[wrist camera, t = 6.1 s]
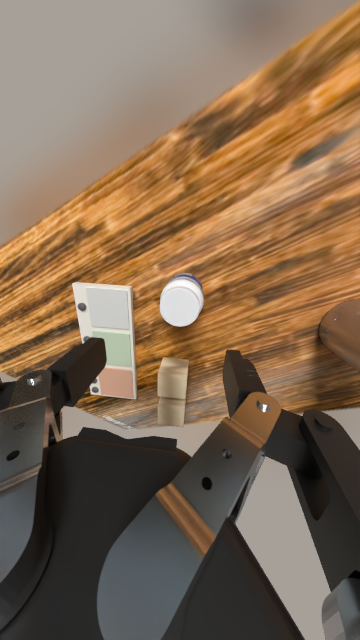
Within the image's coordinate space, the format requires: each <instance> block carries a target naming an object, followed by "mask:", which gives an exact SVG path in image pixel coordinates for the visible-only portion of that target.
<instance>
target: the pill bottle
mask: <svg viewBox="0 0 360 640" xmlns="http://www.w3.org/2000/svg"><path fill="white" fill-rule="evenodd" d="M203 303H204V298H203V289H202V285H201V283H200V281H199V279H198V278H197V277H195V276H194V275H192V274H189V273H181V274H178V275H176V276H174V277H173V278H172V279H171V280H170V282H169V283H168V284H167V285H166V286H165V288H164V289H163V291H162V293H161V298H160V312H161V315H162V317H163V318H164V320H165V321H166V322H168V323H169V324H171V325H173V326H178V327H182V326H187V325H189V324H191V323H192V322H194V321H195V320H196V318H197V317H198V314H199V313H200V312H201V310H202V307H203Z"/></svg>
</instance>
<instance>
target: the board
mask: <svg viewBox="0 0 360 640" xmlns="http://www.w3.org/2000/svg"><path fill="white" fill-rule="evenodd" d="M72 285H73V291H74V297H75V303H76V309H77V315H78V320H79V326H80V332H81V338H82V344H83V343H84V342H85V341H87V340H88V339H89V338H90V337H97V338H103V339H104V340H105V347H106V356H107V362H106V366H105V367H104V369H103V370H102V371H101V373H100V374H99V375H98V376H97V378H96V379H95V380H94V381H93V383H92V384H91V385H90V391H91V394H94V395H103V396H111V397H120V398H128V399H136V398H137V396H138V395H137V374H136V354H135V333H134V312H133V292H132V286H121V285H107V284H93V283H79V282H75V283H72Z"/></svg>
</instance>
